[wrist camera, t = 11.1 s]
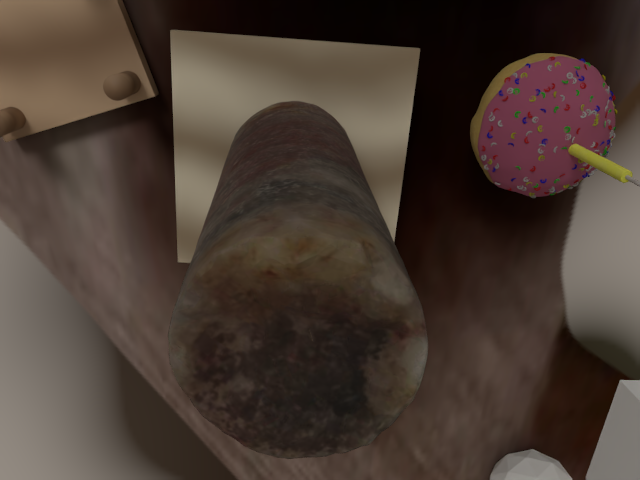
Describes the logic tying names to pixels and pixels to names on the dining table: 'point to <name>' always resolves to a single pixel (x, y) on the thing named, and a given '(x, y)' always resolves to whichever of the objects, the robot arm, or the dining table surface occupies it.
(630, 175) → the cupcake
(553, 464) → the ornament
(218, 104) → the small wooden stool
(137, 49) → the upturned stool decor
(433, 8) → the dining table surface
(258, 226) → the brown wooden log
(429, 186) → the dining table surface
